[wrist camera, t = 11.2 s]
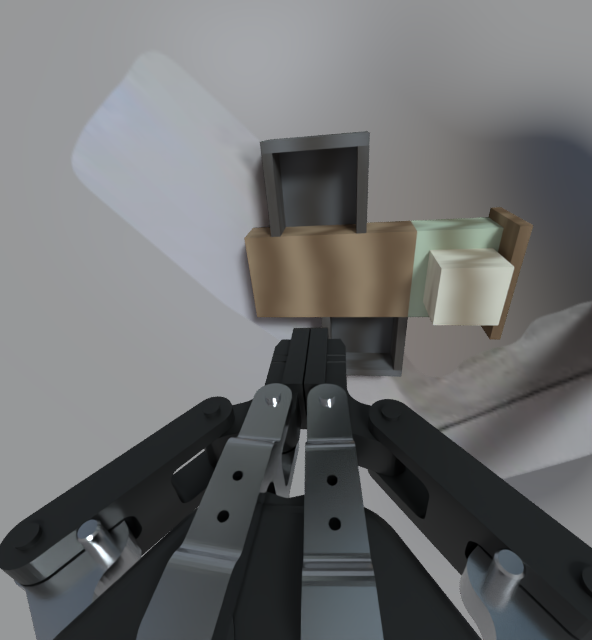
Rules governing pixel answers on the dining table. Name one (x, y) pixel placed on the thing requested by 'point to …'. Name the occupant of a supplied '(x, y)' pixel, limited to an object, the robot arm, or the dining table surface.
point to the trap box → (355, 250)
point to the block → (466, 286)
